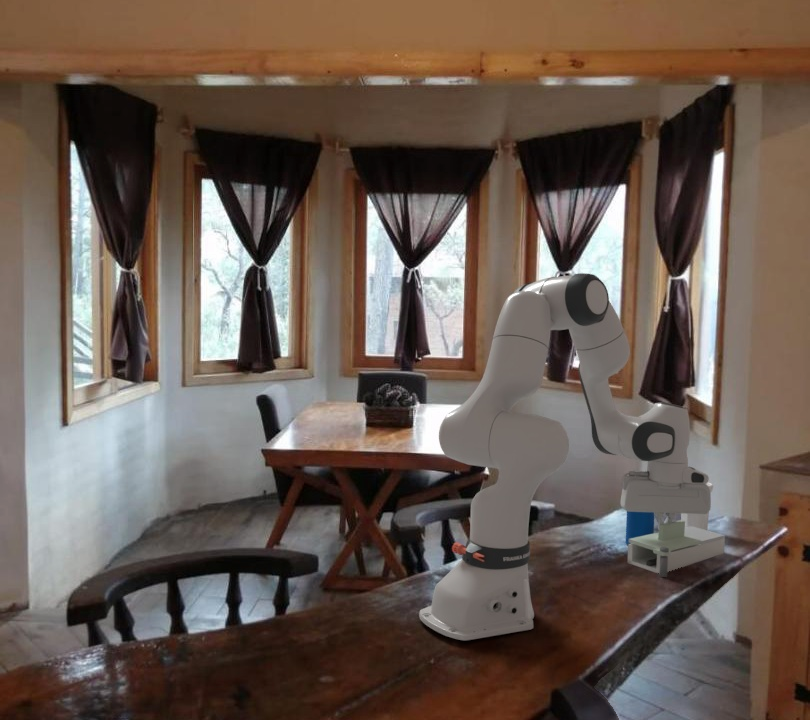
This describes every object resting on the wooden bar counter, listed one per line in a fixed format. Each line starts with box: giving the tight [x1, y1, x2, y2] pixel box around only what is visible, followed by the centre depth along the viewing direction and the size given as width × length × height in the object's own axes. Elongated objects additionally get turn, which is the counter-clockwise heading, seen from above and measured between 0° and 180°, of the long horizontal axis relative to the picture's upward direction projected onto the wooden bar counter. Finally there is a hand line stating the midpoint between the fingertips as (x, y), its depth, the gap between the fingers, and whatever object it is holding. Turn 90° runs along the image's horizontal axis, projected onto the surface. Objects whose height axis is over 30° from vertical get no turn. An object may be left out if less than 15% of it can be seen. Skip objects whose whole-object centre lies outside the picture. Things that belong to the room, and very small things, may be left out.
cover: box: [629, 519, 700, 556], centre depth 169 cm, size 16×11×4 cm
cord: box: [646, 558, 657, 566], centre depth 173 cm, size 23×1×1 cm, turn 125°
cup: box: [680, 481, 714, 530], centre depth 192 cm, size 8×8×14 cm
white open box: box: [627, 526, 726, 578], centre depth 172 cm, size 25×11×5 cm, turn 125°
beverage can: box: [625, 511, 655, 546], centre depth 182 cm, size 6×6×12 cm
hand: (663, 531), depth 173 cm, fingers closed
